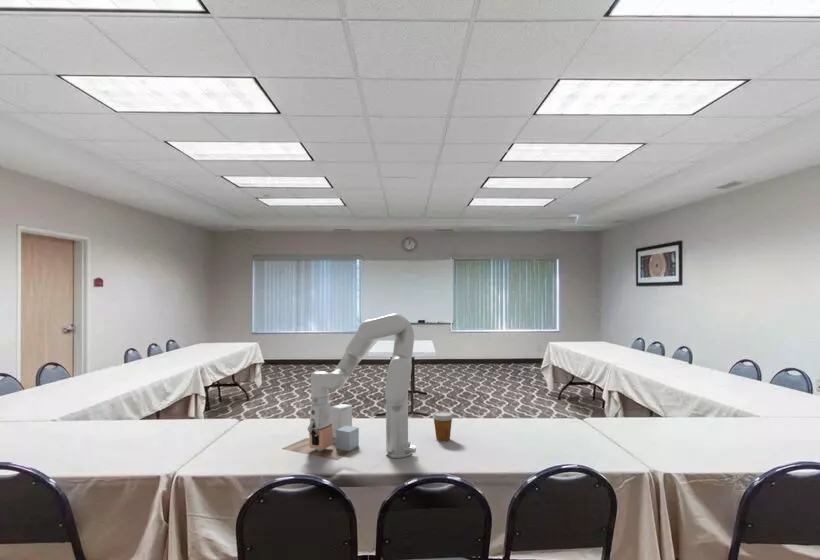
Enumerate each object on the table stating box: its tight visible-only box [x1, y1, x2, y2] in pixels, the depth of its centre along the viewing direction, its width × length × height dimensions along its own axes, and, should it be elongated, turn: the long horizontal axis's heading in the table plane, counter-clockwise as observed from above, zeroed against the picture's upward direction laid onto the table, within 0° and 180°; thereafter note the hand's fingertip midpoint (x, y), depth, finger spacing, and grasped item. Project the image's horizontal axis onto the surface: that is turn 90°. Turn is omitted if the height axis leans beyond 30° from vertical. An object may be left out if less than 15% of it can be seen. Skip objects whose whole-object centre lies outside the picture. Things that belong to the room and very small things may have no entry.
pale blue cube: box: [335, 426, 360, 451], centre depth 183 cm, size 7×7×8 cm
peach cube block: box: [308, 425, 334, 450], centre depth 180 cm, size 7×7×8 cm
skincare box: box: [331, 403, 353, 439], centre depth 199 cm, size 8×7×16 cm
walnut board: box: [281, 437, 360, 461], centre depth 182 cm, size 30×16×2 cm, turn 63°
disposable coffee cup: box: [432, 410, 454, 442], centre depth 197 cm, size 10×10×12 cm
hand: (321, 441), depth 180 cm, fingers closed on peach cube block, 7 cm apart
